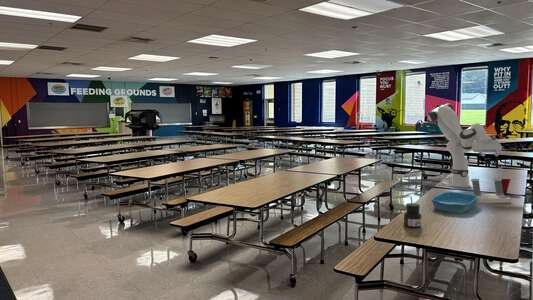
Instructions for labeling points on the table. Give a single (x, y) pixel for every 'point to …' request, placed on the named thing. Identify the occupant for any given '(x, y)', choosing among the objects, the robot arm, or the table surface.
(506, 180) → the plastic cup
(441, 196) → the casserole dish
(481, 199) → the switch panel
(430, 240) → the table surface
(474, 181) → the lever
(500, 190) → the lever
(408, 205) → the ink bottle
